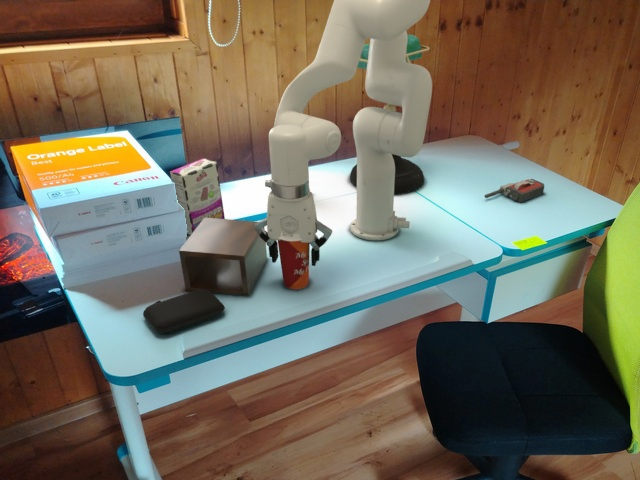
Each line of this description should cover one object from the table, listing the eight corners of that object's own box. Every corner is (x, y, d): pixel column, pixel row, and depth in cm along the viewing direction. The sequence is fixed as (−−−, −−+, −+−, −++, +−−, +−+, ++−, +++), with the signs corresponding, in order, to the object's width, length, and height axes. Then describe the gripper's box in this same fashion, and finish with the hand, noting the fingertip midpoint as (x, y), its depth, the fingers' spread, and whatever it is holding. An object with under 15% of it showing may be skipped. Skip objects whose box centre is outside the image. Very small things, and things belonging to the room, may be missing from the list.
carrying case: (206, 293, 137) (139, 315, 129) (204, 281, 135) (136, 303, 127) (228, 315, 130) (159, 340, 122) (227, 303, 128) (156, 328, 120)
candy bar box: (212, 216, 167) (203, 157, 157) (225, 221, 165) (218, 161, 155) (179, 232, 159) (168, 170, 149) (193, 237, 157) (183, 175, 147)
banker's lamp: (383, 158, 207) (387, 27, 184) (441, 177, 196) (453, 40, 173) (330, 182, 189) (327, 40, 166) (391, 204, 178) (397, 55, 155)
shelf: (267, 259, 150) (264, 222, 144) (248, 296, 137) (244, 256, 131) (209, 255, 150) (204, 217, 144) (185, 290, 137) (178, 250, 131)
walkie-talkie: (524, 183, 195) (481, 199, 184) (526, 170, 193) (483, 185, 181) (547, 193, 190) (504, 210, 179) (549, 179, 187) (506, 195, 176)
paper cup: (307, 294, 138) (304, 237, 130) (274, 289, 139) (269, 232, 131) (317, 276, 145) (315, 221, 136) (286, 271, 146) (282, 217, 137)
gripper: (243, 191, 126) (251, 266, 136) (329, 198, 125) (330, 273, 135) (254, 177, 132) (260, 250, 142) (335, 183, 131) (336, 256, 141)
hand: (294, 261), depth 139 cm, fingers open, 8 cm apart
